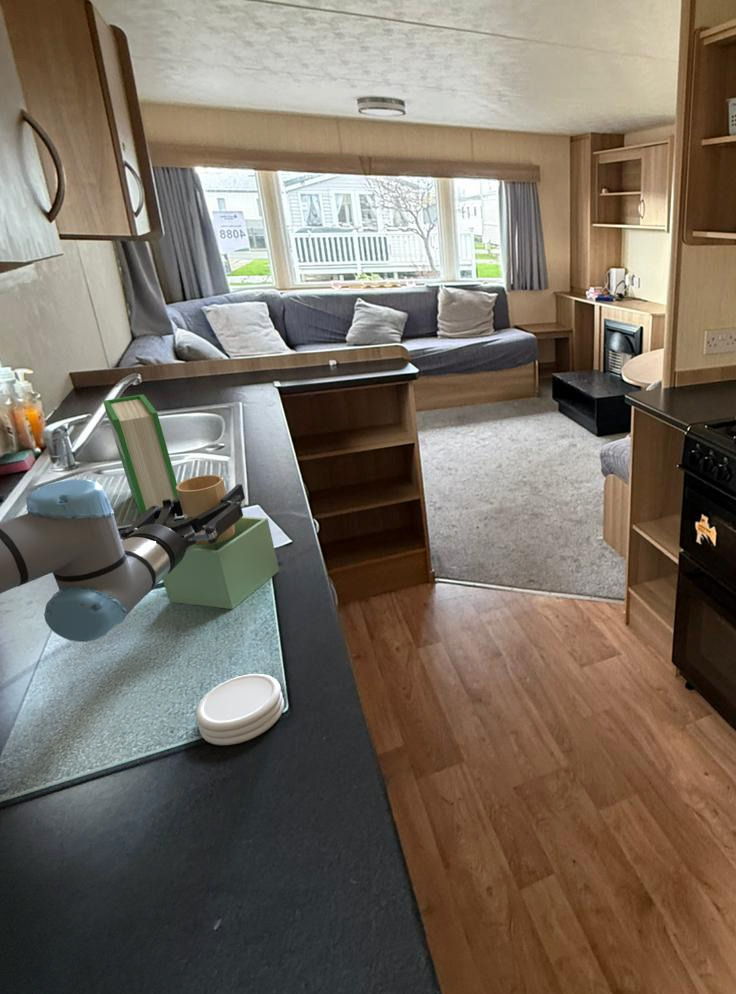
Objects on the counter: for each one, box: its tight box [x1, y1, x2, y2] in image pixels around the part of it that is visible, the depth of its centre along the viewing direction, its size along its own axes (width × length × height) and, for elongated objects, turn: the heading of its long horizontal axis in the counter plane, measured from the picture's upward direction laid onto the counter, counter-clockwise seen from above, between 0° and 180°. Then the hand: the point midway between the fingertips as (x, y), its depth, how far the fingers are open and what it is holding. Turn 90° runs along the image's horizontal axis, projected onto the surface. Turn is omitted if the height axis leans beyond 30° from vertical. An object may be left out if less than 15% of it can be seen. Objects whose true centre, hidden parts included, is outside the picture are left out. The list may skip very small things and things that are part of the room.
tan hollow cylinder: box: [176, 474, 235, 545], centre depth 110 cm, size 7×7×10 cm
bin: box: [162, 515, 280, 610], centre depth 114 cm, size 12×12×11 cm
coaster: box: [195, 673, 285, 746], centre depth 86 cm, size 10×10×4 cm
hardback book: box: [102, 394, 178, 517], centre depth 141 cm, size 18×7×24 cm, turn 41°
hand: (218, 492), depth 115 cm, fingers closed on tan hollow cylinder, 7 cm apart
